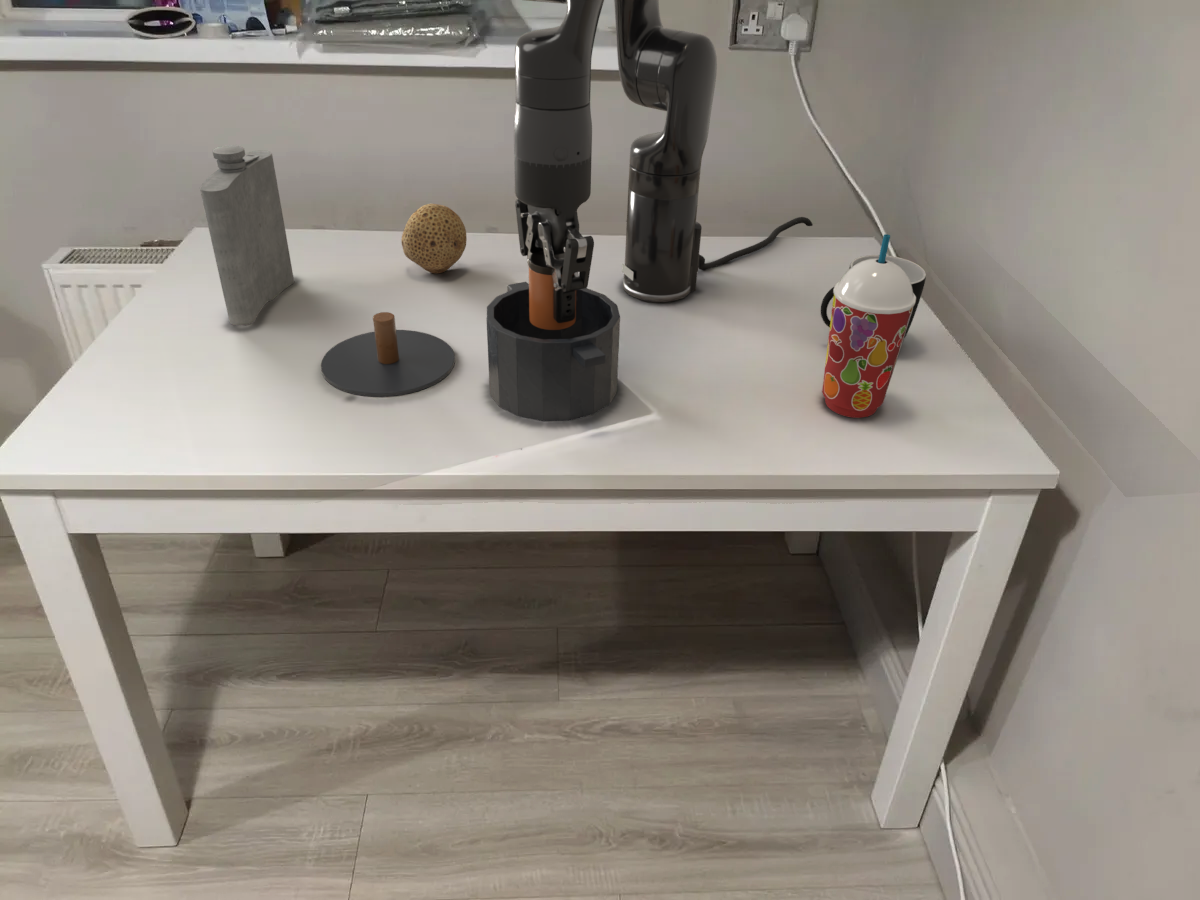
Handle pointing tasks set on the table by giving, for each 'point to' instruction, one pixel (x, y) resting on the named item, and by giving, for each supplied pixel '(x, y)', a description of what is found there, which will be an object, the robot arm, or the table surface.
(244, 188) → the hip flask
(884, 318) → the smoothie
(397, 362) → the pot lid
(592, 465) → the table surface
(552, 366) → the pot
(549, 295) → the tea tin
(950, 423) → the table surface
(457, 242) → the natural sponge
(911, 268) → the mug
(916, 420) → the table surface
